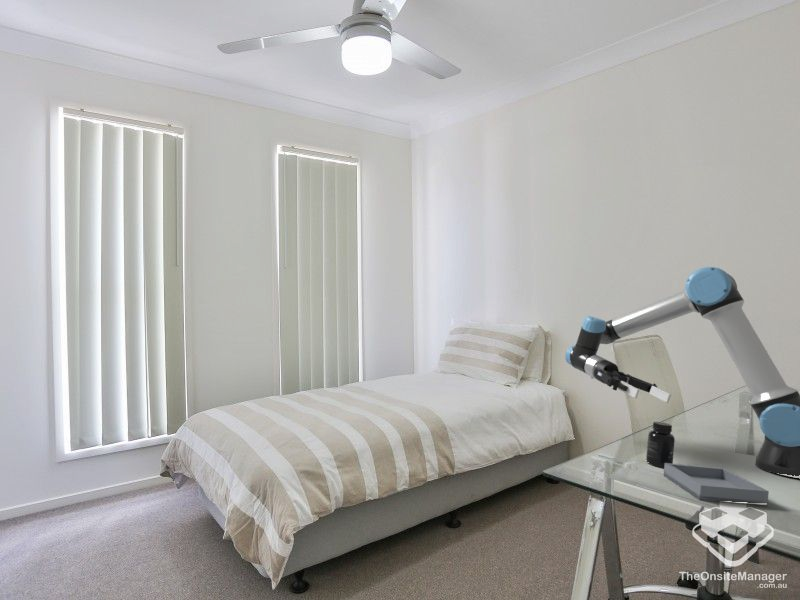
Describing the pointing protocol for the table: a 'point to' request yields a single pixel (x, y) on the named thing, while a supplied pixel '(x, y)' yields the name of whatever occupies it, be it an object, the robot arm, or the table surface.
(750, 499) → the charcoal tray
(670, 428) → the supplement bottle
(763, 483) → the table surface
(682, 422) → the table surface
